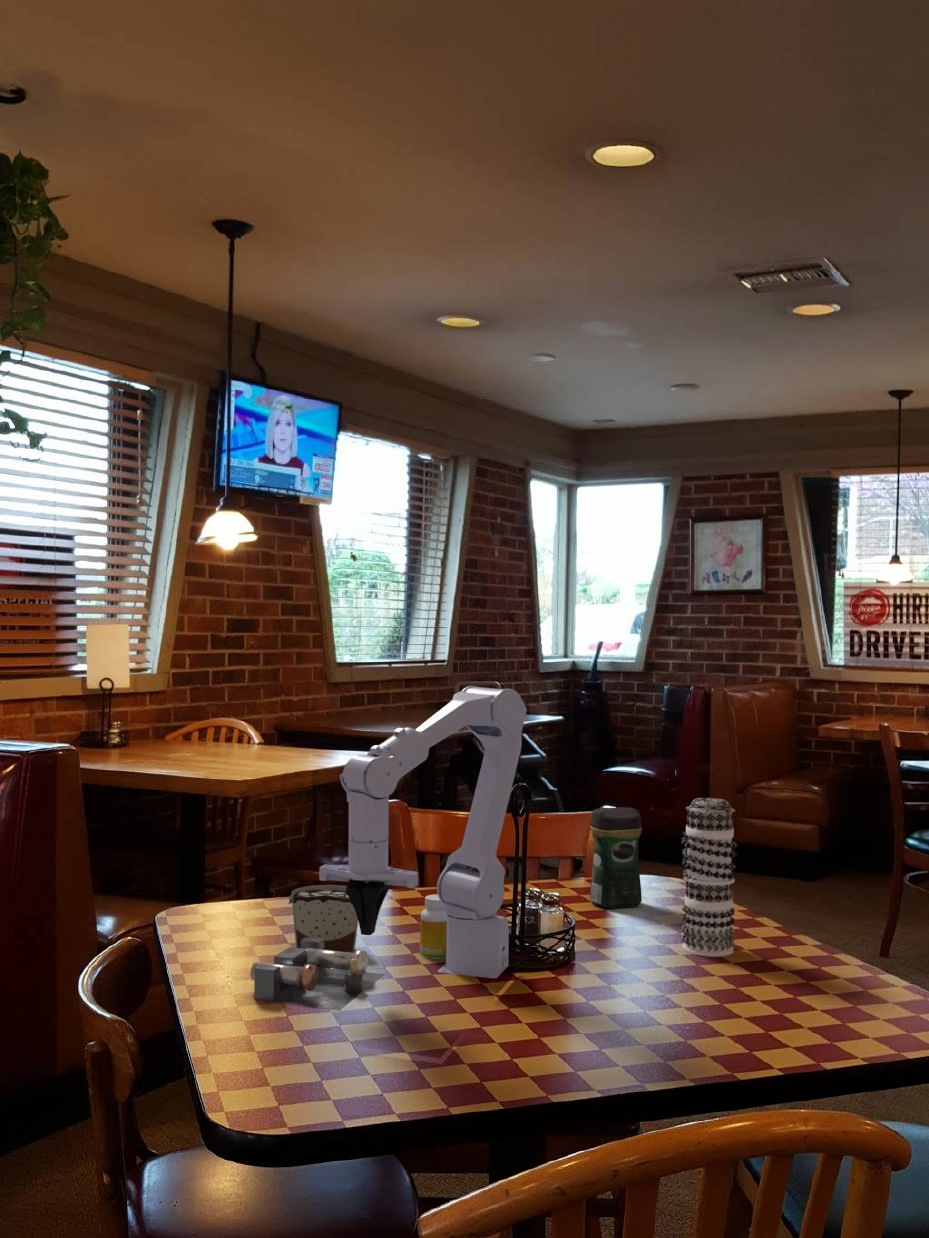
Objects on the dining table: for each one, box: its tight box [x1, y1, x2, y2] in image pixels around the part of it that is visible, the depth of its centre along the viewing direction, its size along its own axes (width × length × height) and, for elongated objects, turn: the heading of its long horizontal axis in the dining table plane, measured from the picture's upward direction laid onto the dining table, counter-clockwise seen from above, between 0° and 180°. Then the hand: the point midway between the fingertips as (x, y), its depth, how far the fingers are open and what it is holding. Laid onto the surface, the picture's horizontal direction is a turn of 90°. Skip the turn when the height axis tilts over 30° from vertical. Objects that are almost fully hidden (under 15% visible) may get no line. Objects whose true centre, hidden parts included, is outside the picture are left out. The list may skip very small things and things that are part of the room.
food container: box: [288, 884, 359, 953], centre depth 191 cm, size 12×6×10 cm, turn 84°
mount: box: [253, 937, 385, 1011], centre depth 170 cm, size 13×17×5 cm
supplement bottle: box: [419, 894, 447, 960], centre depth 188 cm, size 5×5×10 cm
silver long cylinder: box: [307, 948, 369, 976], centre depth 174 cm, size 9×4×4 cm, turn 73°
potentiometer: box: [344, 959, 363, 993], centre depth 169 cm, size 3×3×4 cm
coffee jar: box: [589, 807, 643, 909], centre depth 224 cm, size 10×8×19 cm
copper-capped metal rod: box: [250, 961, 318, 991], centre depth 167 cm, size 9×4×4 cm, turn 73°
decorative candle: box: [681, 797, 738, 958], centre depth 194 cm, size 9×9×25 cm
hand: (367, 933), depth 167 cm, fingers closed
